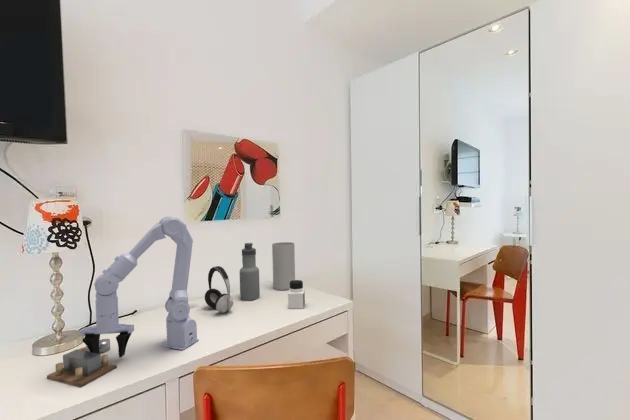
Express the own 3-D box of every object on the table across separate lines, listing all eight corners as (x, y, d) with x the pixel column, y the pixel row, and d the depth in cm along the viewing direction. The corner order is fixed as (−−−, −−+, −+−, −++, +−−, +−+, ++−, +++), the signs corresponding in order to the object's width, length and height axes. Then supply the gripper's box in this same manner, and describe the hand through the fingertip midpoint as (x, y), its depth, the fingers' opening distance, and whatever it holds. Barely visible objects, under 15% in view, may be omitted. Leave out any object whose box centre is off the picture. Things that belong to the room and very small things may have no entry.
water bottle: (239, 296, 161) (238, 242, 160) (258, 293, 164) (257, 241, 163) (240, 301, 151) (239, 245, 150) (260, 299, 154) (259, 243, 153)
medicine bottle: (303, 308, 140) (303, 282, 139) (288, 308, 140) (287, 282, 140) (304, 303, 147) (304, 278, 147) (289, 303, 147) (289, 278, 147)
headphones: (238, 313, 136) (236, 267, 135) (220, 318, 130) (219, 271, 130) (217, 303, 150) (216, 262, 149) (200, 307, 144) (199, 265, 143)
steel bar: (101, 369, 89) (100, 354, 89) (87, 376, 85) (87, 360, 85) (77, 364, 92) (76, 349, 92) (63, 370, 89) (62, 355, 88)
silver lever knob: (113, 348, 103) (113, 337, 103) (84, 362, 95) (83, 350, 95) (104, 346, 105) (103, 336, 105) (74, 360, 96) (74, 348, 96)
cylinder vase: (297, 284, 180) (296, 242, 180) (292, 290, 168) (291, 245, 167) (276, 284, 182) (275, 242, 181) (270, 290, 170) (269, 245, 169)
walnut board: (116, 369, 91) (116, 355, 91) (81, 388, 82) (81, 373, 82) (84, 361, 96) (83, 348, 96) (47, 379, 86) (46, 364, 86)
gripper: (138, 307, 100) (139, 348, 100) (90, 309, 98) (92, 351, 99) (127, 315, 93) (128, 359, 93) (75, 318, 91) (77, 363, 92)
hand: (108, 356), depth 96 cm, fingers open, 7 cm apart
